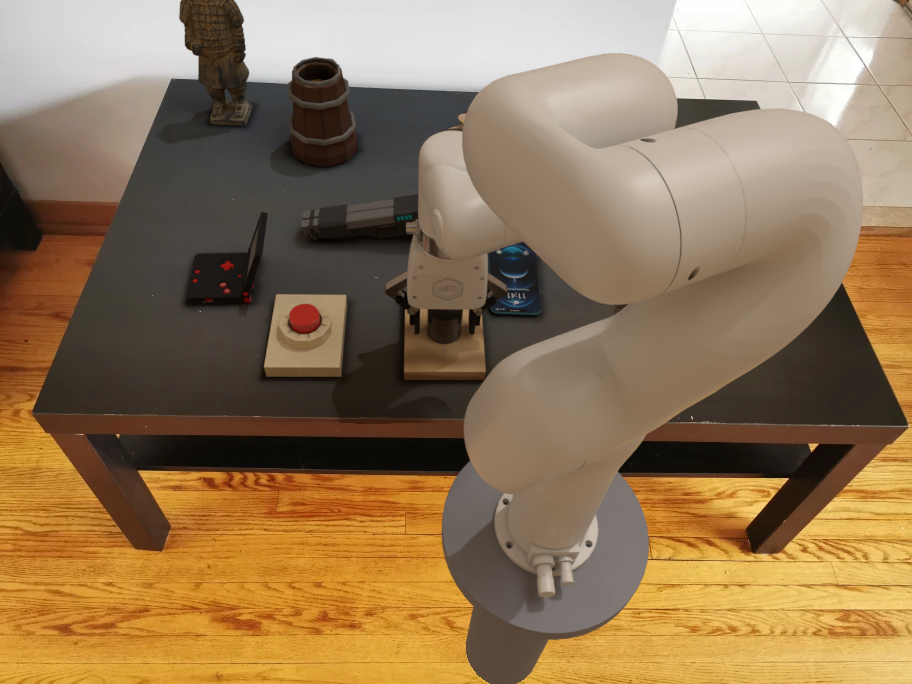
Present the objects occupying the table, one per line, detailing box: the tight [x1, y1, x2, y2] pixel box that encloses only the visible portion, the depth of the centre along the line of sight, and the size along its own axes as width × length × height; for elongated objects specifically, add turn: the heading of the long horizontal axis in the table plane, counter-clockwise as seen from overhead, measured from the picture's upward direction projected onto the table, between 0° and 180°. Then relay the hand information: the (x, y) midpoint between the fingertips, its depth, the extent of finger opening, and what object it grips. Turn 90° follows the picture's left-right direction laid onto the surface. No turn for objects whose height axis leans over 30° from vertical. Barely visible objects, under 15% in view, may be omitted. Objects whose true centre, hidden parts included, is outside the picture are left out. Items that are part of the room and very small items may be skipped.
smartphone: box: [487, 242, 542, 316], centre depth 108 cm, size 8×1×15 cm
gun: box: [300, 193, 418, 241], centre depth 111 cm, size 4×20×10 cm, turn 92°
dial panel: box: [403, 308, 487, 381], centre depth 99 cm, size 14×11×2 cm
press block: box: [263, 293, 348, 378], centre depth 98 cm, size 13×10×4 cm
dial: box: [427, 309, 463, 344], centre depth 97 cm, size 5×5×5 cm
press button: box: [289, 304, 320, 334], centre depth 96 cm, size 4×4×2 cm
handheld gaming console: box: [185, 211, 269, 305], centre depth 101 cm, size 9×12×10 cm
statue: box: [178, 0, 253, 127], centre depth 119 cm, size 10×8×30 cm
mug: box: [287, 56, 359, 168], centre depth 122 cm, size 16×12×15 cm
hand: (444, 325), depth 98 cm, fingers open, 7 cm apart
